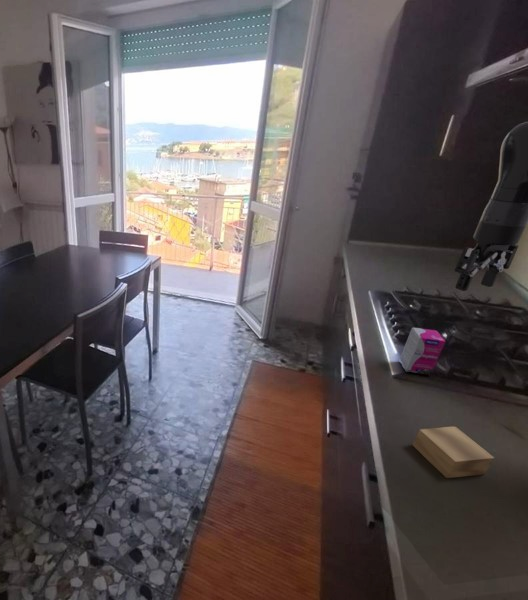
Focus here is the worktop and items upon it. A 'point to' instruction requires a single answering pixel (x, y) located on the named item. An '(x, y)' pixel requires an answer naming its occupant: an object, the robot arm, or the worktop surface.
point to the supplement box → (422, 349)
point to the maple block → (452, 452)
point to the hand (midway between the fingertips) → (473, 287)
